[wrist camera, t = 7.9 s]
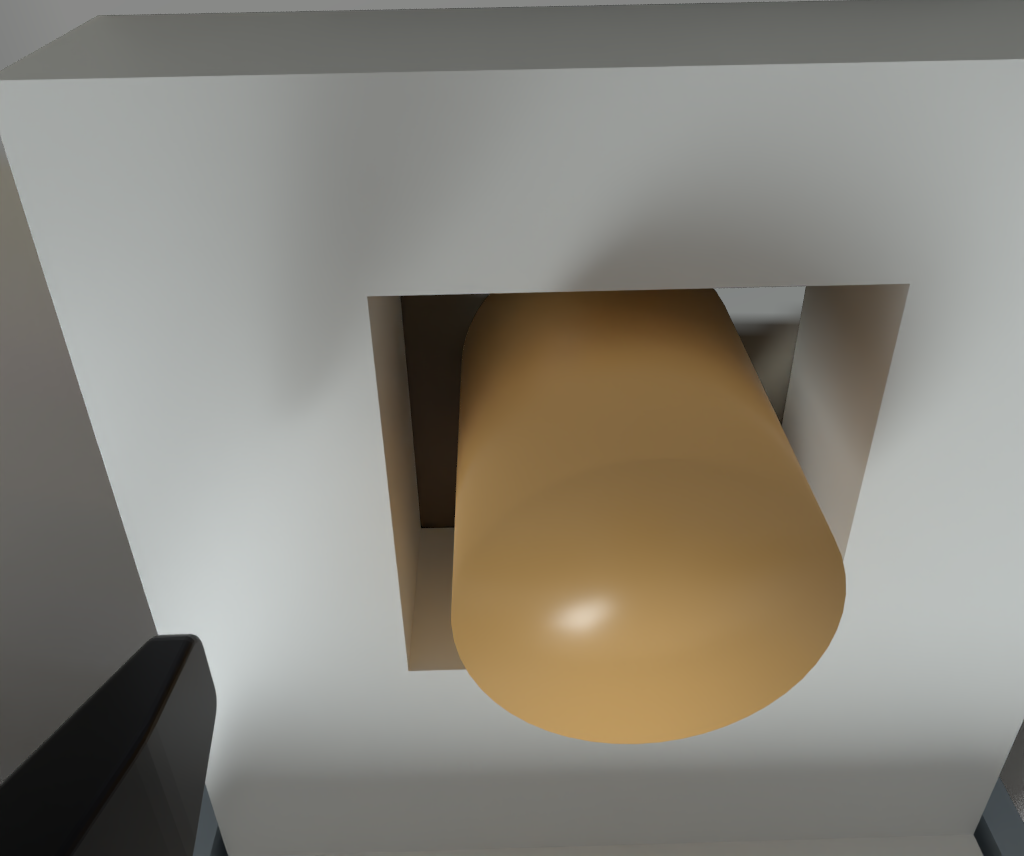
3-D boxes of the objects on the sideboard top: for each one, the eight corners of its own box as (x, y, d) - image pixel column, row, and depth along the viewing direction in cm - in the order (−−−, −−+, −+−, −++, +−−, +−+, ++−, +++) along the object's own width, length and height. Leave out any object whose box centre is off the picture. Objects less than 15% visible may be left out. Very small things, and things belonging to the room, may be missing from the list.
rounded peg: (466, 482, 15) (459, 749, 11) (454, 243, 13) (440, 463, 8) (720, 476, 15) (810, 739, 11) (752, 237, 13) (884, 452, 9)
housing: (319, 934, 22) (280, 1204, 18) (97, 16, 11) (-150, 154, 7) (830, 918, 22) (911, 1182, 18) (1128, -5, 11) (1526, 118, 7)
